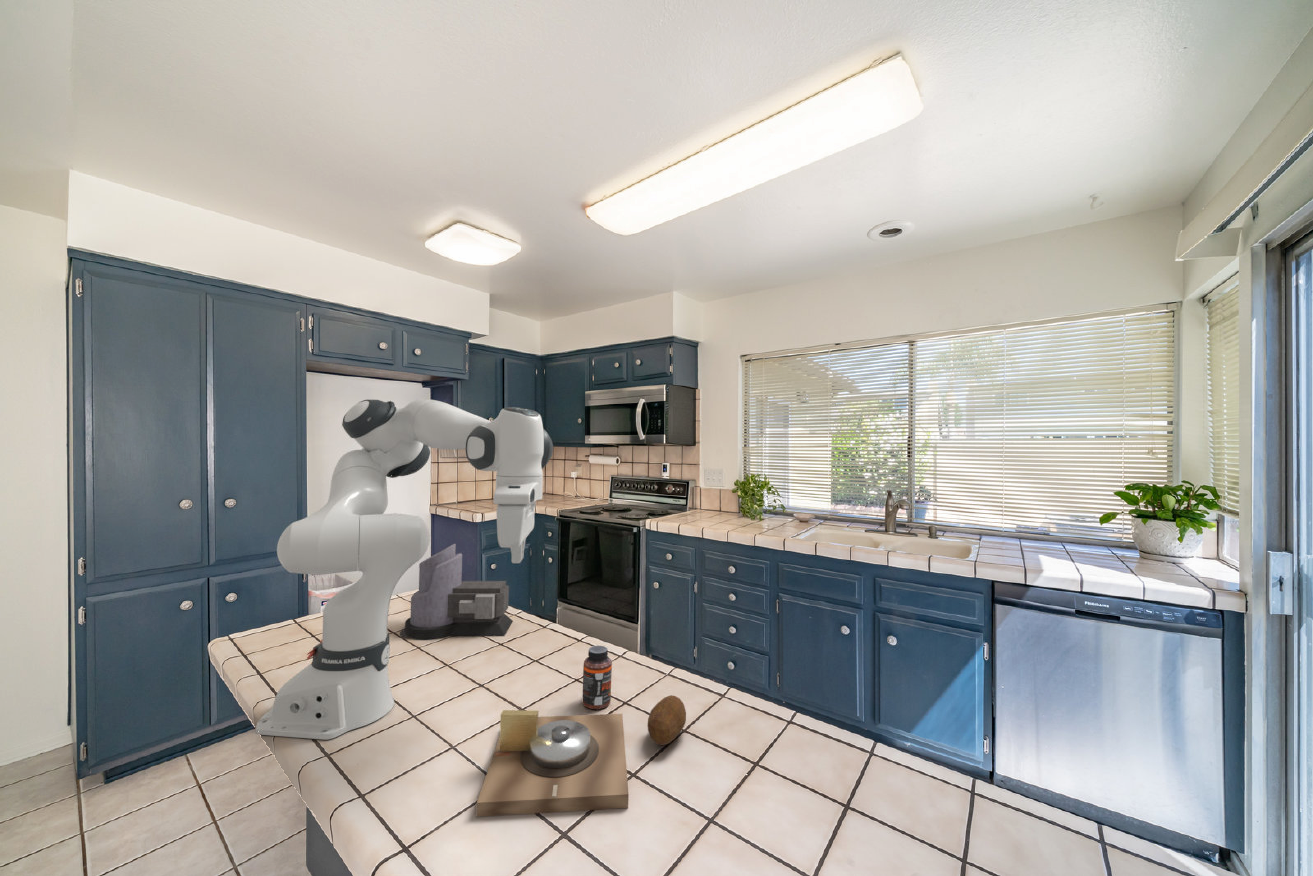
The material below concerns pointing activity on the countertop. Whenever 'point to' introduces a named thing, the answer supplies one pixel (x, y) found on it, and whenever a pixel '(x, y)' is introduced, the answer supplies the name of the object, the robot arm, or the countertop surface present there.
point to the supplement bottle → (597, 678)
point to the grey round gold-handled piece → (544, 738)
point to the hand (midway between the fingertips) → (517, 561)
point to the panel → (560, 775)
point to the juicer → (455, 602)
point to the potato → (666, 720)
